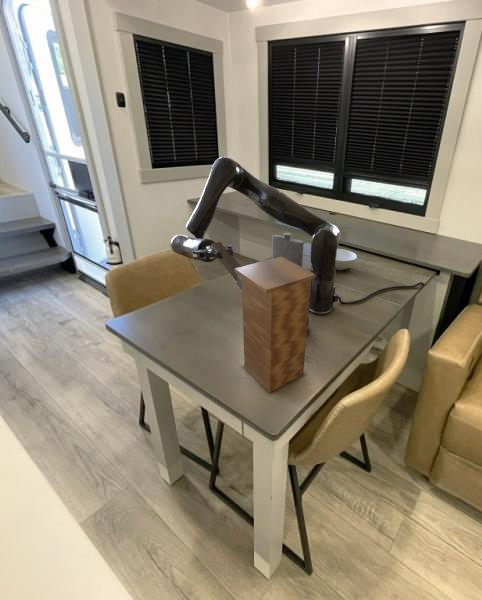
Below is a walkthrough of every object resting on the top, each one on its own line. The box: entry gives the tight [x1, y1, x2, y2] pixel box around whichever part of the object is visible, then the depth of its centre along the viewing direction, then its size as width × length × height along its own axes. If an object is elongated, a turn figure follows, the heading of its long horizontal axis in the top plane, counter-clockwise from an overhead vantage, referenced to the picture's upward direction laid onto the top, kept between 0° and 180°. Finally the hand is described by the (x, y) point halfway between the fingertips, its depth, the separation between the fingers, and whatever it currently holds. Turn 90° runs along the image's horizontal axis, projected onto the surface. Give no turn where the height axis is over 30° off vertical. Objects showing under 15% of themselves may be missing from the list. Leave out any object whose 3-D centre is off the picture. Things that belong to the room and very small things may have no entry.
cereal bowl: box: [336, 248, 358, 271], centre depth 167 cm, size 17×17×7 cm
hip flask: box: [271, 232, 305, 268], centre depth 152 cm, size 16×4×20 cm, turn 62°
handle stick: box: [211, 241, 242, 291], centre depth 97 cm, size 4×20×3 cm, turn 40°
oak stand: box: [234, 257, 316, 393], centre depth 90 cm, size 15×14×32 cm
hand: (225, 253), depth 98 cm, fingers closed on handle stick, 3 cm apart
